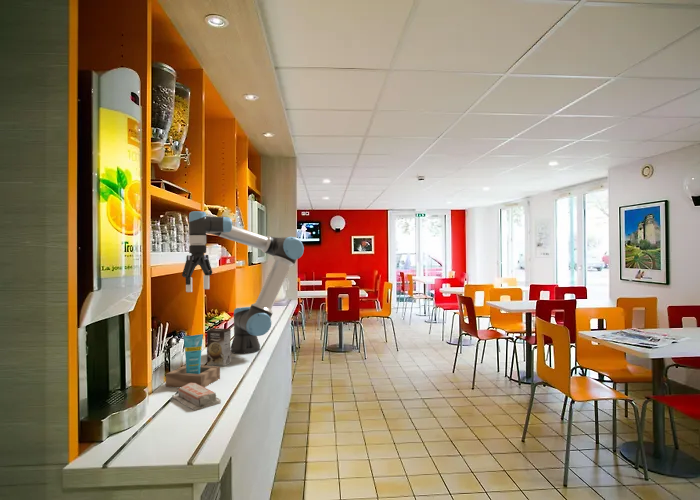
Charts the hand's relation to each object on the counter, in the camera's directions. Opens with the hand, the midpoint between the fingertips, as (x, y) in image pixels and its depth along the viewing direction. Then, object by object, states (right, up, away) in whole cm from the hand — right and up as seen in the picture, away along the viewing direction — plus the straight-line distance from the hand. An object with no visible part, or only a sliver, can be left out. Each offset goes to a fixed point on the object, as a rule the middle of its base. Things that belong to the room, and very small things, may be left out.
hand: (198, 290), depth 193 cm
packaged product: (+16, -35, -45) cm, 59 cm away
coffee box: (+9, -35, +2) cm, 36 cm away
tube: (+7, -35, -25) cm, 44 cm away
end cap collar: (+7, -35, -25) cm, 44 cm away
